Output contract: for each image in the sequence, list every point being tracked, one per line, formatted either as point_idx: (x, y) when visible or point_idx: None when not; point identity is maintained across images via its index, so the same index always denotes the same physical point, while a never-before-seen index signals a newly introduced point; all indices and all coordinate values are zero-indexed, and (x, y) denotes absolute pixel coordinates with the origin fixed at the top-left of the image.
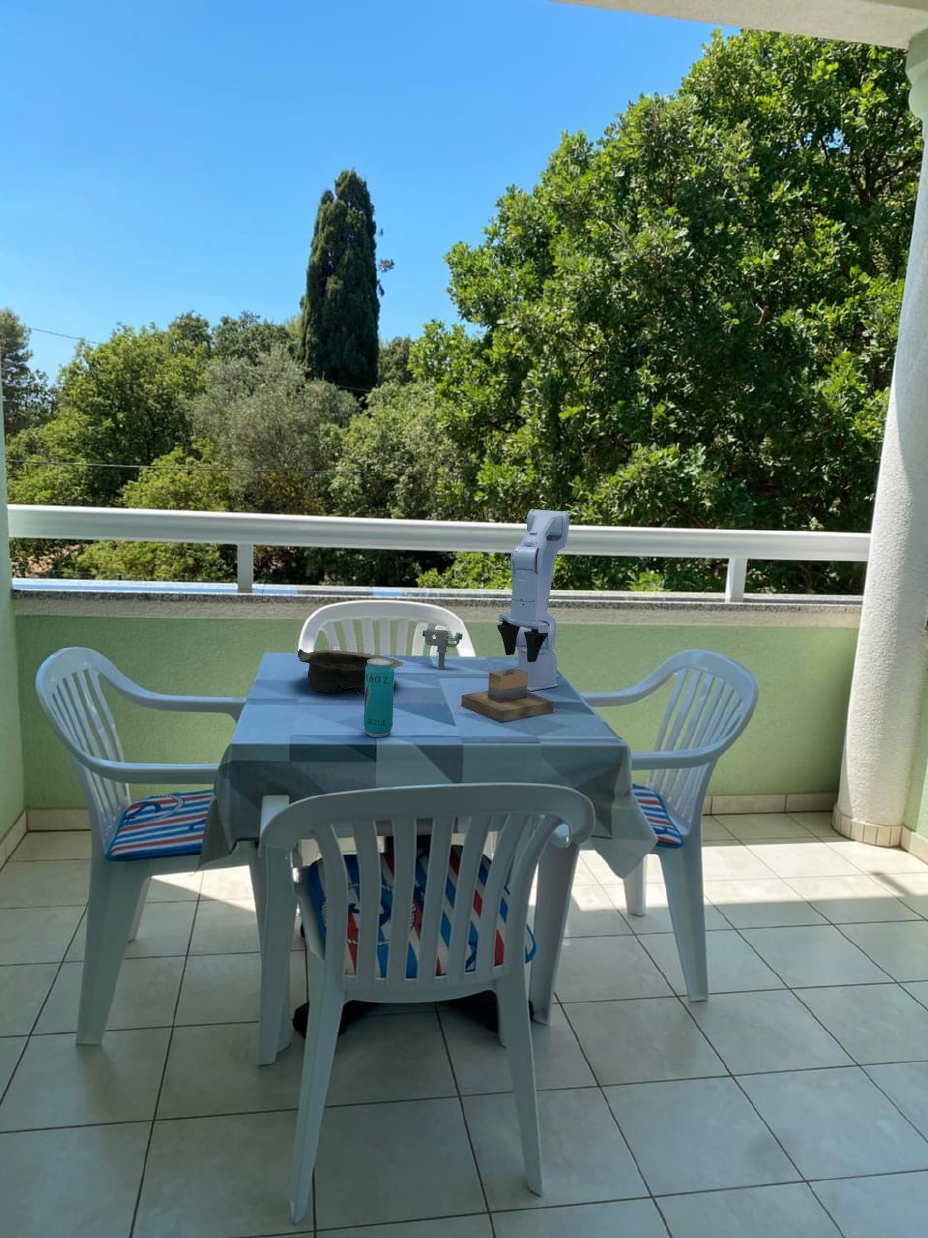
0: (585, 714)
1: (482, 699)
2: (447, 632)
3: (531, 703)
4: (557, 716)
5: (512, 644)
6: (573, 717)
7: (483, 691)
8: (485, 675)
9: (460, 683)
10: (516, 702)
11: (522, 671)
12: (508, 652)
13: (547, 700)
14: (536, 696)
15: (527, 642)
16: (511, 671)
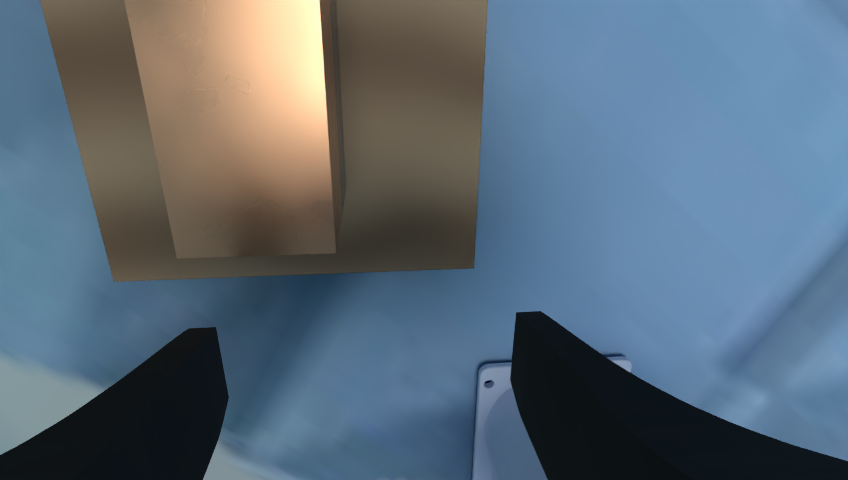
0: (58, 364)
1: None
2: None
3: (114, 138)
4: (67, 231)
5: (547, 432)
6: (26, 289)
7: (484, 35)
8: (790, 346)
9: (795, 160)
10: None
11: (213, 228)
12: (522, 336)
13: (144, 264)
14: (240, 259)
15: (59, 464)
16: (252, 138)
